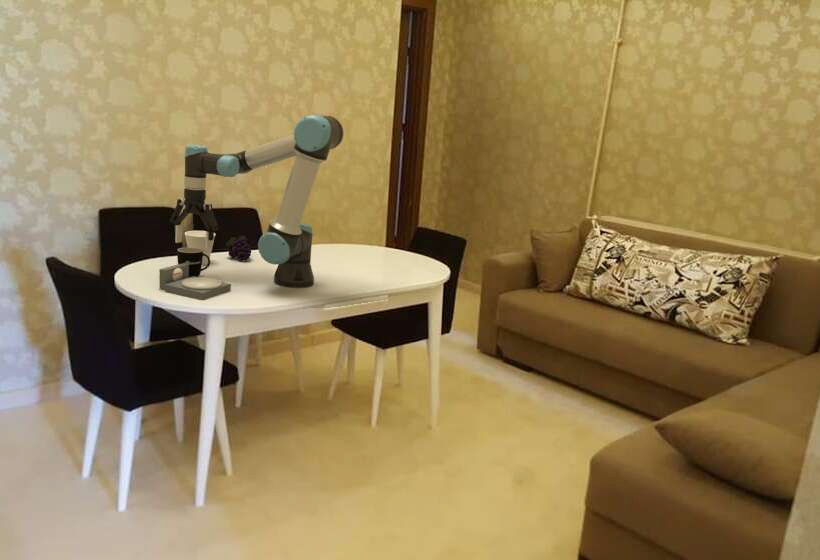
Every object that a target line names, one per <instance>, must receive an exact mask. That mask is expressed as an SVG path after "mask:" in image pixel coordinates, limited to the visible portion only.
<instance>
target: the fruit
mask: <svg viewBox="0 0 820 560" xmlns="http://www.w3.org/2000/svg"><path fill="white" fill-rule="evenodd" d="M225 245H226V247H227V252H228V253H227V254H228V256H229V257H230V258H231V259H236V260H237V261H240V262H245V261H247V260H249V259H250V257H251V255H252V249H251V245H250V244H249V243H248V238H246V236H245V235H240V236H238V237H235V236H234V237H230V239H229V240H228V241H227V242H226V244H225Z"/></svg>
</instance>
